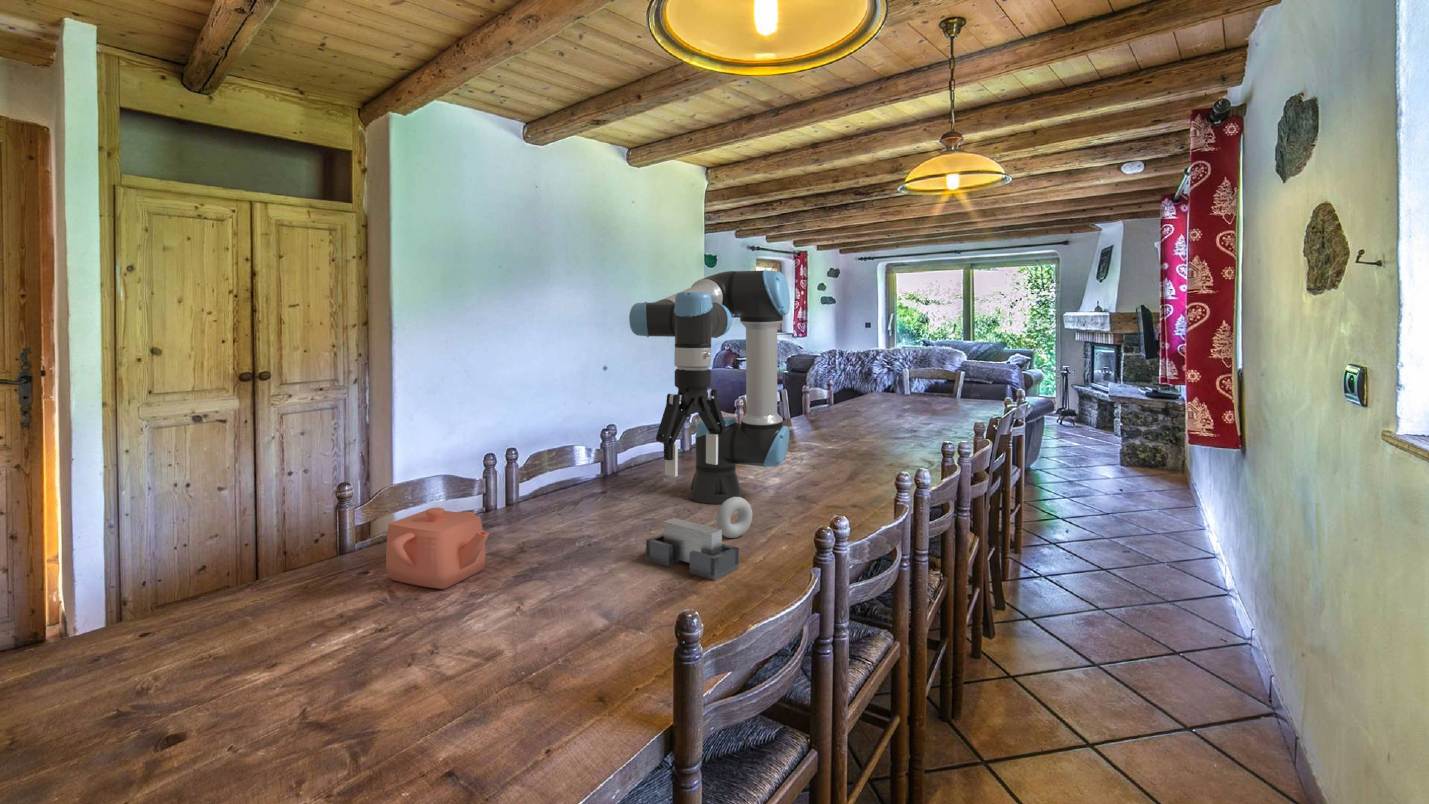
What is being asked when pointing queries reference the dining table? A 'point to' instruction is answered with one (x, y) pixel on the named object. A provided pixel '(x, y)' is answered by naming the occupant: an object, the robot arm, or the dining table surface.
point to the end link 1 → (660, 551)
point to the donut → (725, 515)
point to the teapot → (435, 548)
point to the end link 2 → (714, 563)
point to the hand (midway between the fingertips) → (692, 469)
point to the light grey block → (691, 538)
